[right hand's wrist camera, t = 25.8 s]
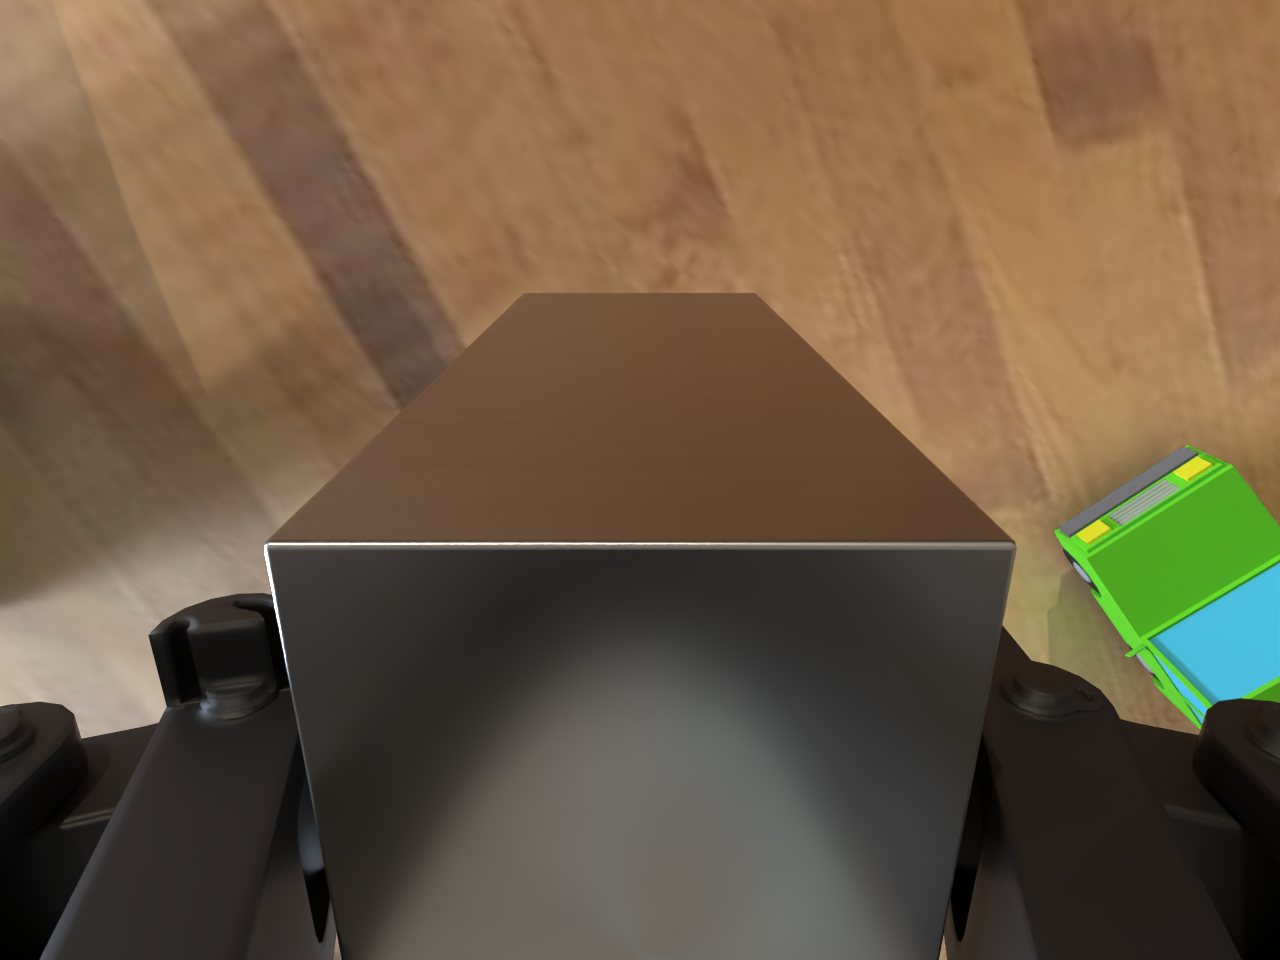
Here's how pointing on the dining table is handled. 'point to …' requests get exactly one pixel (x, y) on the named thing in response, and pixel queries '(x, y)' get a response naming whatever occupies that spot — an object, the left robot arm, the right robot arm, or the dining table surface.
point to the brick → (640, 651)
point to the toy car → (1187, 579)
